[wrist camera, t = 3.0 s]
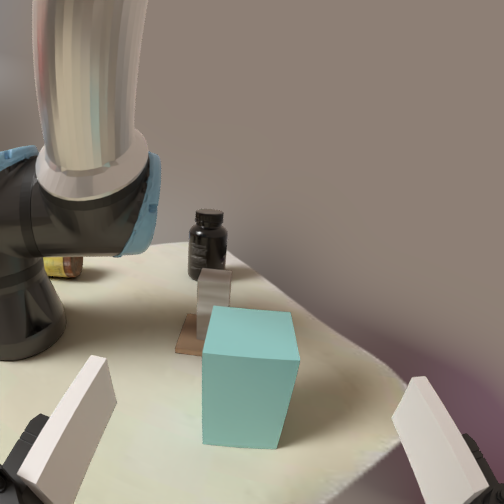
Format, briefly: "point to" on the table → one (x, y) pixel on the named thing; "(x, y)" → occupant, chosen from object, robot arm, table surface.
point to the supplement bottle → (207, 242)
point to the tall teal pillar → (247, 376)
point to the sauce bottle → (63, 266)
